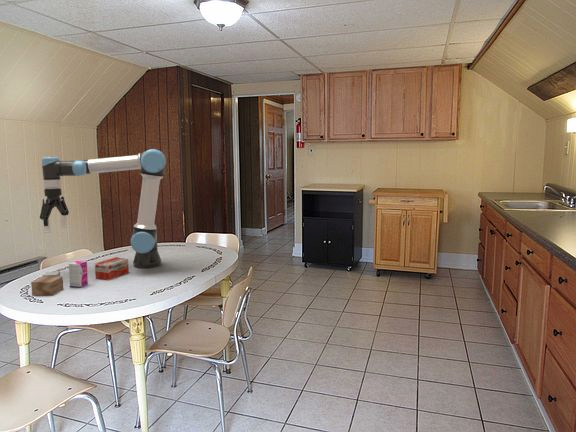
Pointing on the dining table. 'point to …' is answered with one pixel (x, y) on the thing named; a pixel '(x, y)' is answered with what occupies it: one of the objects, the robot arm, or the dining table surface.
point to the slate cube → (52, 274)
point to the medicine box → (111, 268)
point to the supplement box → (78, 274)
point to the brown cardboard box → (47, 285)
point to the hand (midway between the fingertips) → (56, 230)
